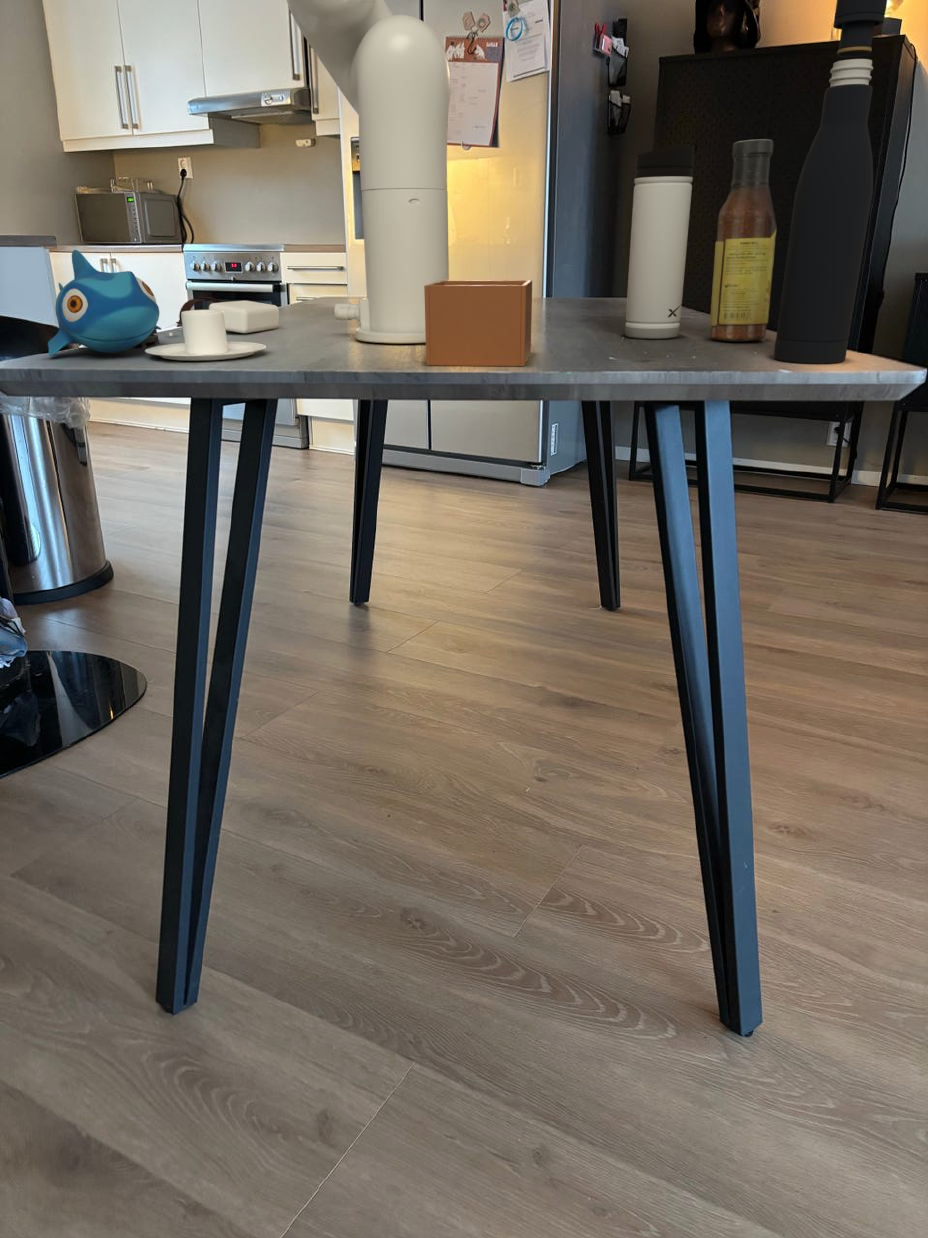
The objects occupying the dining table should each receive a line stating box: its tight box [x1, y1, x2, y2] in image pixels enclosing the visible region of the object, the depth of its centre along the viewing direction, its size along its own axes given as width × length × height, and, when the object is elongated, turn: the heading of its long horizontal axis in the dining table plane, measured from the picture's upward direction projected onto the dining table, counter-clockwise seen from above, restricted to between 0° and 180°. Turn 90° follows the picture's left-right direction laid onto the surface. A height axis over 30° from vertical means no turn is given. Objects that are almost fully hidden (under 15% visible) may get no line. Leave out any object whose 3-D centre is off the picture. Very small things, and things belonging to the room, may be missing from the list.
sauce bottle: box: [709, 138, 778, 343], centre depth 94 cm, size 7×6×20 cm
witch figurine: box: [165, 319, 183, 338], centre depth 112 cm, size 5×12×2 cm, turn 175°
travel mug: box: [624, 142, 699, 340], centre depth 98 cm, size 6×7×20 cm
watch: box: [178, 296, 223, 324], centre depth 111 cm, size 8×5×4 cm
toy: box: [47, 249, 162, 357], centre depth 90 cm, size 12×18×10 cm, turn 41°
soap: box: [208, 300, 280, 334], centre depth 112 cm, size 9×6×3 cm, turn 163°
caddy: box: [424, 279, 533, 367], centre depth 84 cm, size 9×9×7 cm
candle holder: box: [144, 309, 267, 362], centre depth 88 cm, size 12×12×4 cm
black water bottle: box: [773, 0, 888, 365], centre depth 77 cm, size 6×6×30 cm
